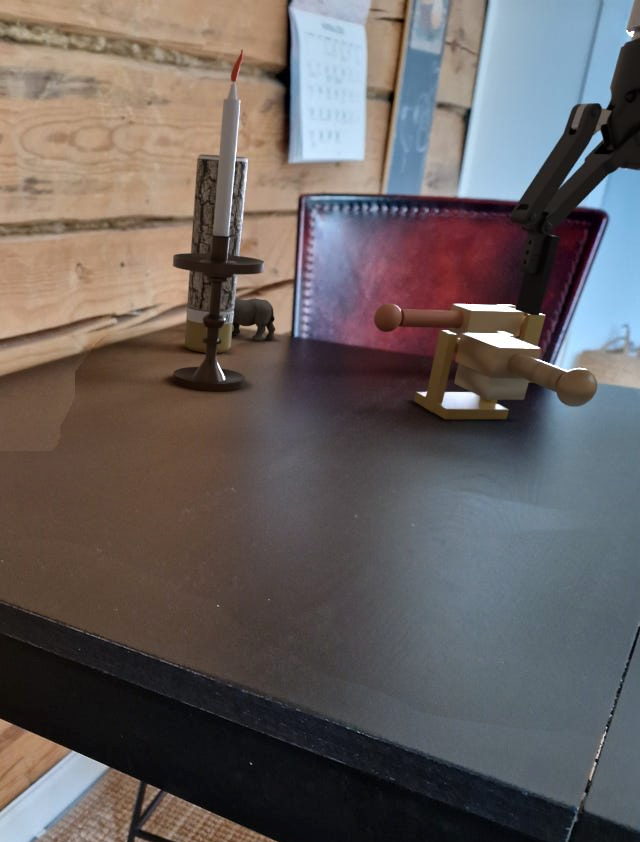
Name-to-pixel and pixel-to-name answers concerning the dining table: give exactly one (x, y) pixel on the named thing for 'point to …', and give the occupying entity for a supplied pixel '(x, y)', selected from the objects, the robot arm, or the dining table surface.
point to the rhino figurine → (254, 317)
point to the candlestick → (218, 258)
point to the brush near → (515, 370)
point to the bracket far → (531, 328)
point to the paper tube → (202, 244)
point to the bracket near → (455, 402)
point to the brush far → (453, 319)
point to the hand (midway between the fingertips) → (591, 315)
